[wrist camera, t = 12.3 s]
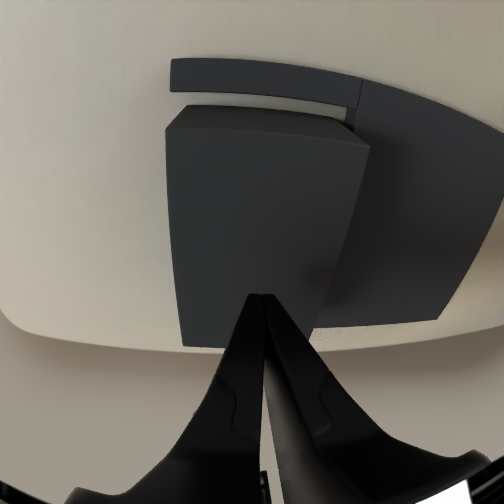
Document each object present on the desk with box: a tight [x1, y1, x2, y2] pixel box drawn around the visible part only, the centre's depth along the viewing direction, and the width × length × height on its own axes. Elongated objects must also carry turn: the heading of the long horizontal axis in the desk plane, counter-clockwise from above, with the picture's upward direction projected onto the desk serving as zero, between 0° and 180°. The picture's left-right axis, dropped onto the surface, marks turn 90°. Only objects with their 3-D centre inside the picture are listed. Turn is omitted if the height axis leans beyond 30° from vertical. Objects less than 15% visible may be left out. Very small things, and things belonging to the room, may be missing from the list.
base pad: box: [170, 58, 504, 328], centre depth 14 cm, size 14×18×1 cm
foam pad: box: [165, 105, 370, 348], centre depth 12 cm, size 10×6×4 cm, turn 175°
